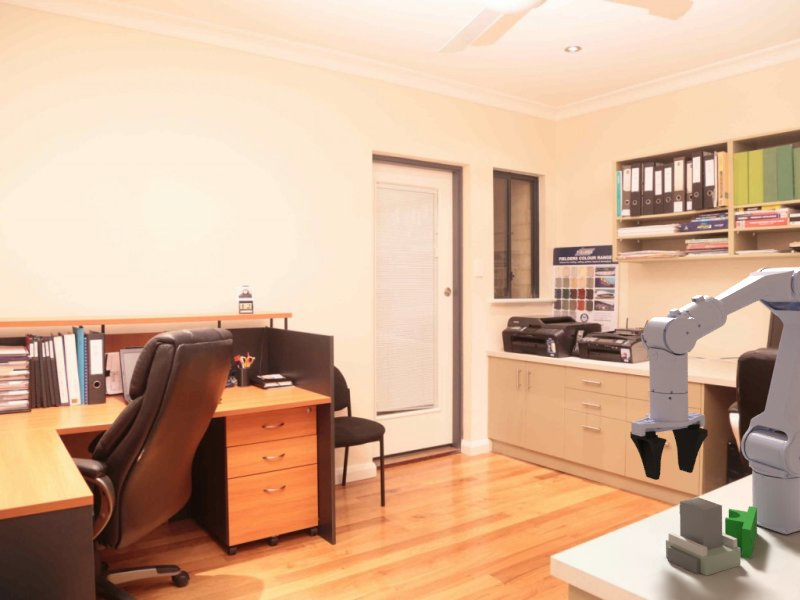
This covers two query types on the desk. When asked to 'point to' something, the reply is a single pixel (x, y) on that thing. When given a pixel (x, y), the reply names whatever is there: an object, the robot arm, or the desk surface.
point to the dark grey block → (701, 522)
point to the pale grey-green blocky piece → (703, 554)
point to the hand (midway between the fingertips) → (669, 474)
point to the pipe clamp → (743, 529)
